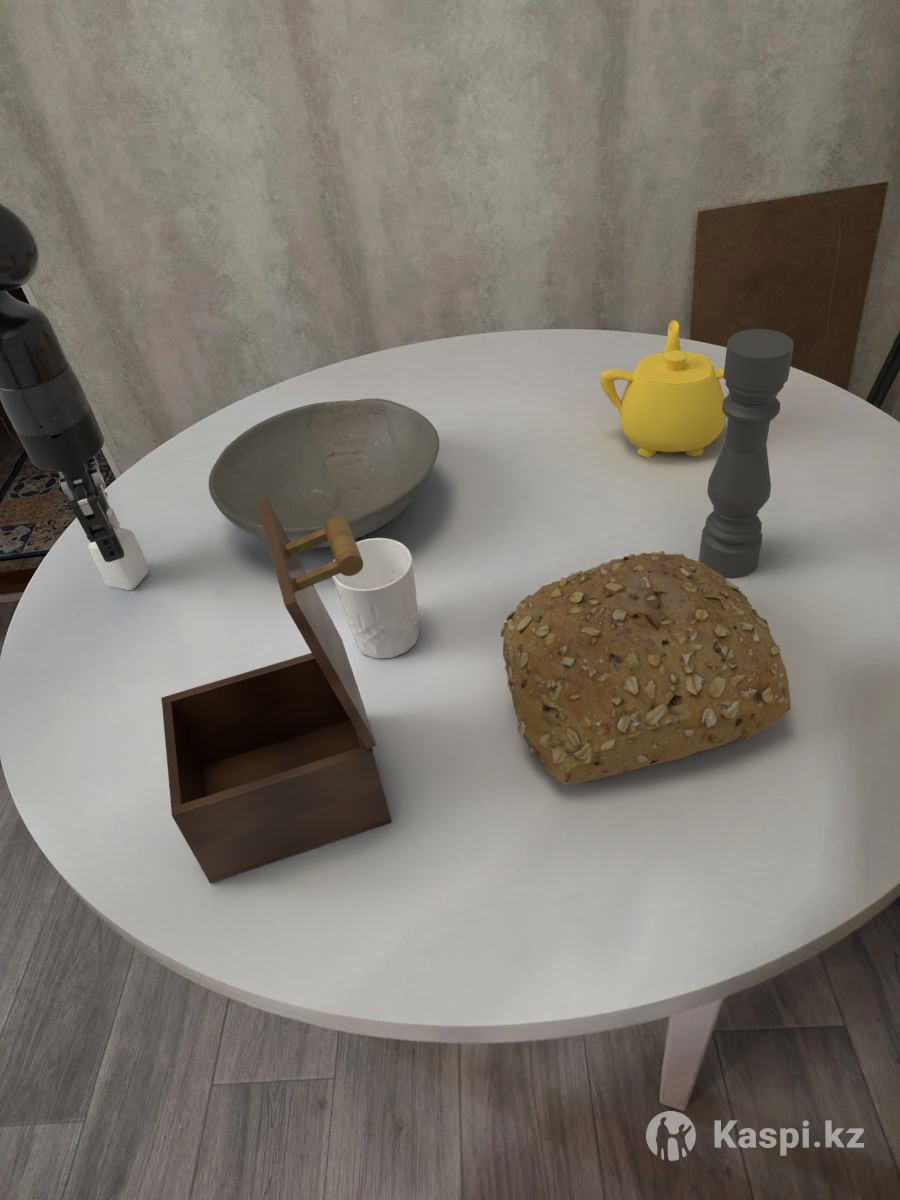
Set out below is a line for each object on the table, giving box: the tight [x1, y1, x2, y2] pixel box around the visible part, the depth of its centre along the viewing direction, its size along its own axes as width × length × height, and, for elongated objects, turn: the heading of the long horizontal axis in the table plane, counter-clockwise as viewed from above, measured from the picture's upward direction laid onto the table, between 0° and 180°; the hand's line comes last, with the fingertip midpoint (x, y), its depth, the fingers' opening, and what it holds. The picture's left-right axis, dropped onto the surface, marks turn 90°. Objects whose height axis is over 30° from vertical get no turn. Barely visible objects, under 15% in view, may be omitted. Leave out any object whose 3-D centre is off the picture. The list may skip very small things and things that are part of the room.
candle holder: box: [698, 328, 795, 579], centre depth 85 cm, size 6×6×25 cm
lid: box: [257, 497, 377, 749], centre depth 65 cm, size 16×13×6 cm
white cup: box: [332, 537, 420, 660], centre depth 87 cm, size 8×8×10 cm
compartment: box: [160, 652, 393, 884], centre depth 73 cm, size 16×13×10 cm
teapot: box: [599, 319, 729, 458], centre depth 108 cm, size 14×14×12 cm
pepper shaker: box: [87, 506, 150, 591], centre depth 99 cm, size 4×4×10 cm
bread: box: [500, 550, 792, 784], centre depth 77 cm, size 24×21×12 cm
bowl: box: [208, 398, 440, 549], centre depth 105 cm, size 27×28×8 cm
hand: (112, 543), depth 98 cm, fingers closed on pepper shaker, 5 cm apart
